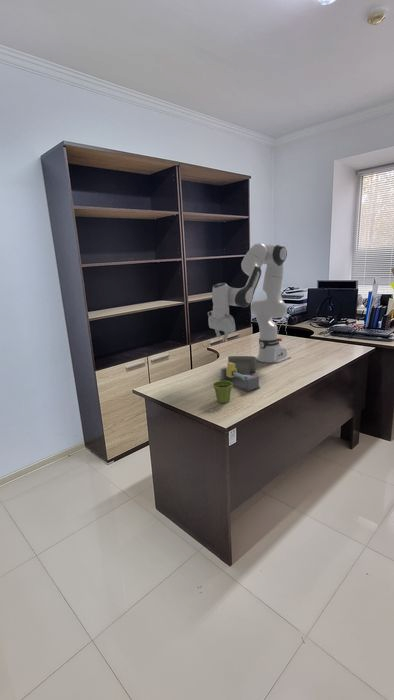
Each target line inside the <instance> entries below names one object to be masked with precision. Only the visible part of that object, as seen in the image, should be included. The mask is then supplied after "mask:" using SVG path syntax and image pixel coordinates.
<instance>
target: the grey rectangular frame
mask: <svg viewBox="0 0 394 700" xmlns="http://www.w3.org/2000/svg"><path fill="white" fill-rule="evenodd" d="M226 368H227V367H223V368H221V369H220V376H221V377H220V379H219V381H230V382H232V383H233V385H232V387H235V388H236V389H239V390H241V391H243V392H246V393H250V392H252V391H255V390H258V389H261V386H260V376H258V375H254V376H252V375H250V374H249V375H242V374H239V373H237V372H234V371H232V374H233V375H235V376H236V377H232V378H230V377H227V376H226Z"/></svg>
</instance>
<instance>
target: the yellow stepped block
mask: <svg viewBox="0 0 394 700" xmlns="http://www.w3.org/2000/svg"><path fill="white" fill-rule="evenodd" d="M226 365H227V368H226V367H225V368H226V376H227V377H230V378H232V377H237V376H235V375H233V374H232V371H234V372H237V368H235V363H232V362H227V363H226Z"/></svg>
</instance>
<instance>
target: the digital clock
mask: <svg viewBox="0 0 394 700" xmlns="http://www.w3.org/2000/svg"><path fill="white" fill-rule="evenodd" d="M256 358H257V357H256V356H254V355H229V356H228V357H227V360H228V362H227V363H229V362H232V363H235V368H237V373H239V374H242V375H250V373H255V372H256V371H257V359H256Z"/></svg>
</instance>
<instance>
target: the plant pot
mask: <svg viewBox="0 0 394 700" xmlns="http://www.w3.org/2000/svg"><path fill="white" fill-rule="evenodd" d="M232 385H233V383H232V382H230V381H220V380H218V381H215V382H213V383H212V387H213V389H214V392H215V397H216V401H217V402H218V403H219V404H226V403H229V402H230V400H231V394H232V393H231V392H232V391H231V390H232V387H233V386H232Z"/></svg>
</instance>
